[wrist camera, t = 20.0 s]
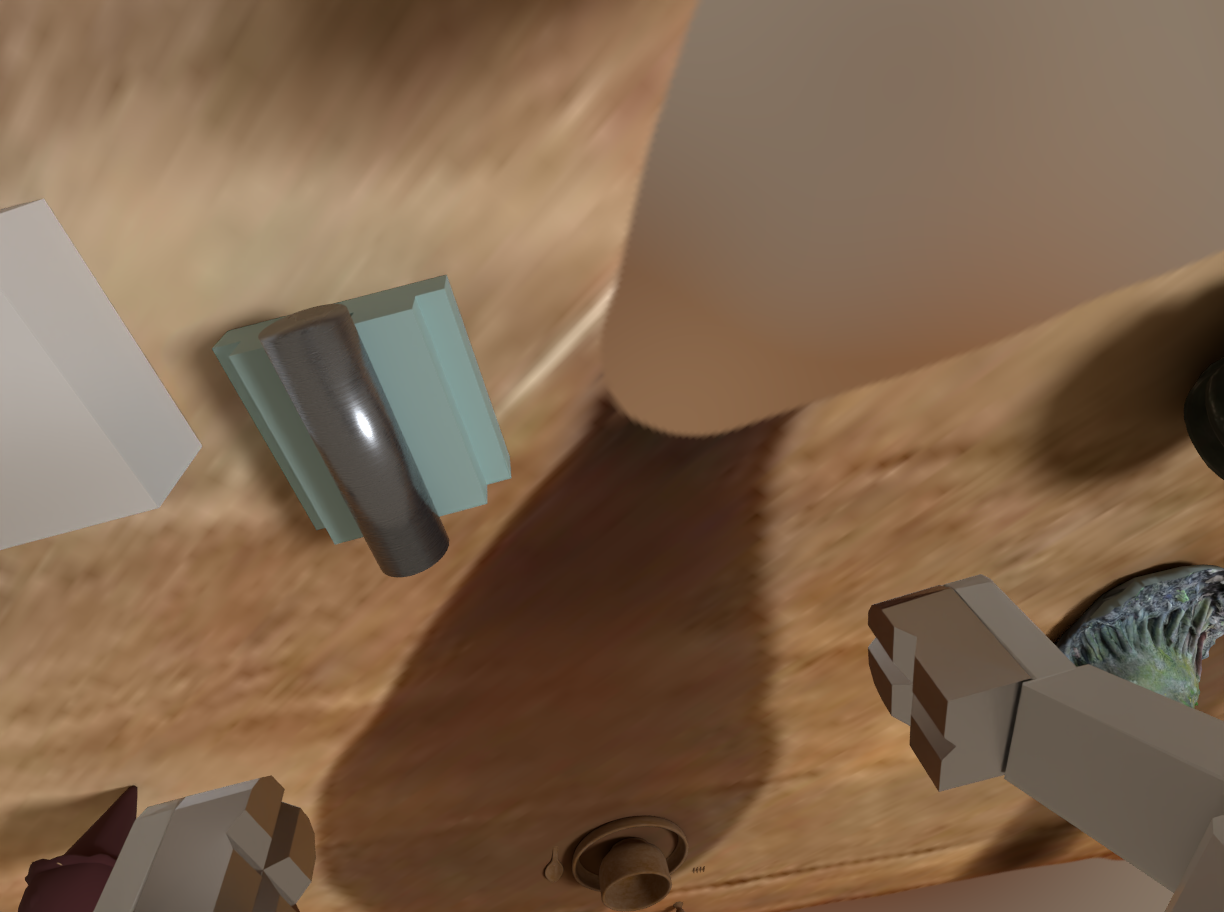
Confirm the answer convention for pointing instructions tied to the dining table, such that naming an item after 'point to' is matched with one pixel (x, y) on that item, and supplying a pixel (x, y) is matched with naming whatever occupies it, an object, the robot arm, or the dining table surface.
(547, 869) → the place setting
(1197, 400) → the squash
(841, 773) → the dining table surface
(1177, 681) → the green grey mushroom
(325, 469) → the v block
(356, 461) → the axle
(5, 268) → the white notched block
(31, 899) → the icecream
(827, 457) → the dining table surface
